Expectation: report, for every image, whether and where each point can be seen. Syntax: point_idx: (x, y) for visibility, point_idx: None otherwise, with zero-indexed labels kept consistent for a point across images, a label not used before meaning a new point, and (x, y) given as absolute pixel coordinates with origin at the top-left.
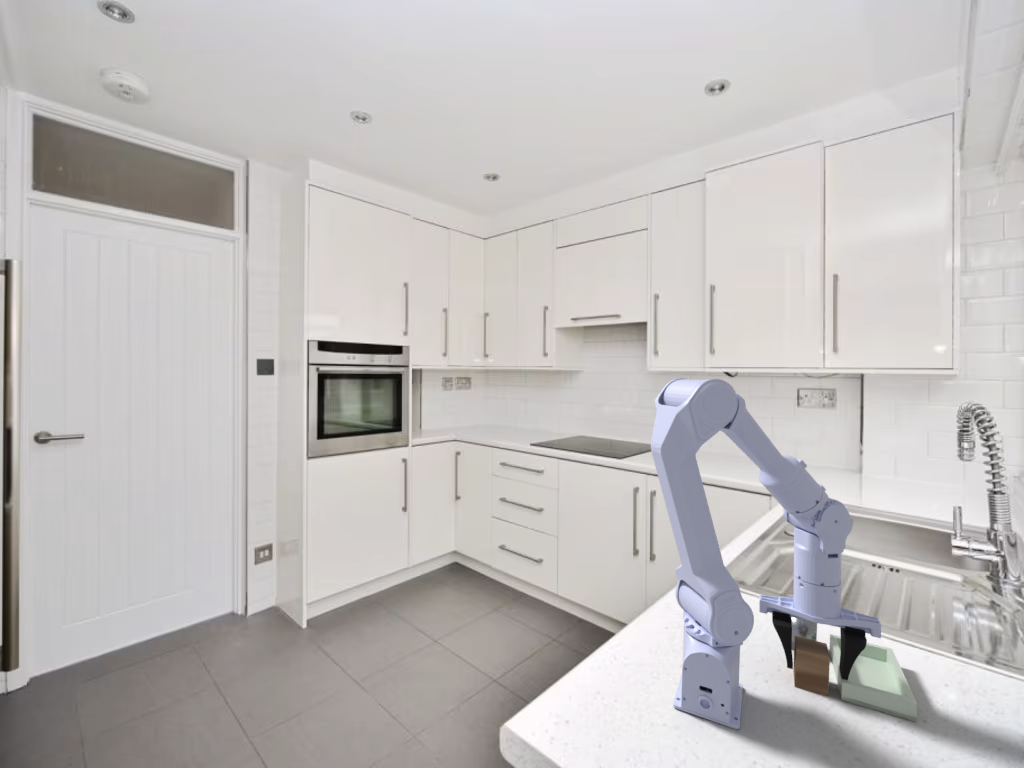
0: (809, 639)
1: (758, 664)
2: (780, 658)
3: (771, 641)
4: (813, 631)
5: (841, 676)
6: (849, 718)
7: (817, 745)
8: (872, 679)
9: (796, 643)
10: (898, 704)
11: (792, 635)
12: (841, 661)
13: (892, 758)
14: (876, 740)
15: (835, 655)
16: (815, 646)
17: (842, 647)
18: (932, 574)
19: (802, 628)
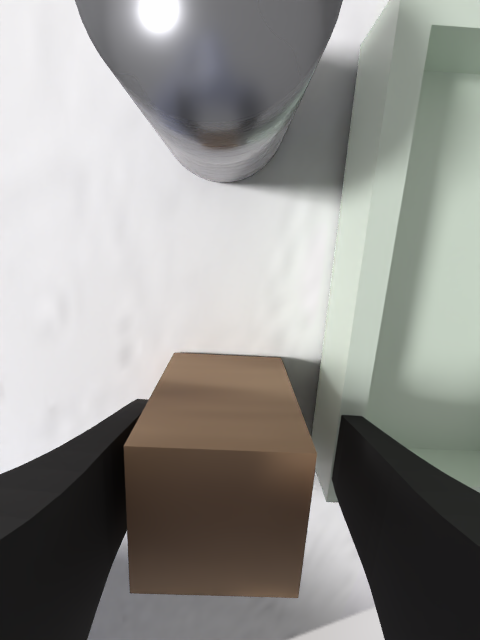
0: (216, 448)
1: (52, 355)
2: (129, 262)
3: (86, 106)
4: (282, 123)
5: (334, 480)
6: (311, 513)
7: (212, 636)
8: (465, 297)
9: (133, 537)
10: None
11: (160, 136)
12: (360, 488)
13: (369, 606)
14: (354, 566)
15: (358, 285)
16: (241, 517)
17: (401, 569)
18: None
19: (205, 147)
